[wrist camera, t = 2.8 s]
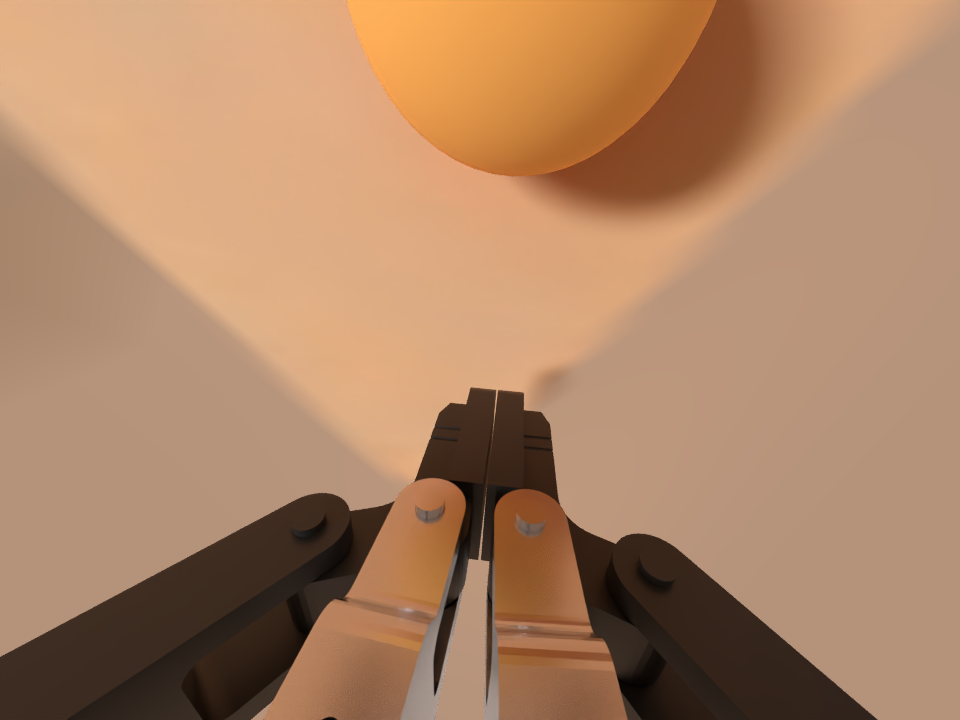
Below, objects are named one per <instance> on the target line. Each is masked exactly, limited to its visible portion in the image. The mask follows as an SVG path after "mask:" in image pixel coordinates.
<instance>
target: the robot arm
mask: <svg viewBox="0 0 960 720" xmlns="http://www.w3.org/2000/svg"><path fill="white" fill-rule="evenodd" d="M495 398H496V390H491V389H481V388H471V389H470V392H469V396H468V400H467V404H466V405H465V404H456V403H450V404H449V405H448V406H447V407H445V408H444V409H443V410H442V411H441V412H440V413H439V415H438V418H437V421H436V424H435V428H434V429H433V432H432V435H431V439H430V440H429V443H428V446H427V449H426V451H425V454H424V457H423V460H422V462H421V465H420V468H419V471H418V474H417V476H416V479H415V481H414V482H413V483H411V484H410V485H408V486H407V487H405V488H404V489H403V490H402V491H401V492H400V493H399V495H398V496H397V498H396V500H395V501H394V502H392V503H389V504H386V505H384V506H379V507H374V508H368V509H362V510H355V511H350V510H349V507H348V505H347V503H346V502H345V501H344V500H343V499H342V498H340V497H338V496H336V495H333V494H327V493H318V494H311V495H307V496H304V497H301V498H299V499H297V500H295V501H293V502H291V503H289V504H287V505H285V506H283V507H282V508H280V509H278V510H276V511H274V512H272V513H270V514H269V515H267V516H265V517H263V518H261V519H259V520H257V521H255V522H253V523H251V524H249V525H248V526H246V527H244V528H242V529H240V530H238V531H236V532H235V533H233V534H231V535H229V536H227V537H225V538H223V539H221V540H219V541H217V542H216V543H214V544H212V545H210V546H208V547H207V548H204V549H202V550H201V551H199V552H197V553H195V554H193V555H191V556H189V557H187V558H186V559H184V560H182V561H180V562H178V563H176V564H174V565H172V566H170V567H169V568H167V569H165V570H163V571H161V572H159V573H157V574H156V575H154V576H152V577H150V578H148V579H146V580H144V581H142V582H141V583H139V584H137V585H135V586H133V587H131V588H129V589H127V590H125V591H123V592H122V593H120V594H118V595H116V596H114V597H112V598H110V599H108V600H107V601H105V602H103V603H101V604H99V605H97V606H95V607H93V608H92V609H90V610H88V611H86V612H84V613H82V614H80V615H78V616H77V617H75V618H73V619H71V620H69V621H67V622H65V623H63V624H61V625H60V626H58V627H56V628H54V629H52V630H50V631H48V632H46V633H45V634H43V635H41V636H39V637H37V638H35V639H33V640H31V641H30V642H28V643H26V644H24V645H22V646H20V647H18V648H16V649H15V650H13V651H11V652H9V653H7V654H5V655H3V656H1V657H0V720H251V719H252V718H253V717H254V716H255V715H257V714H258V713H259V712H260V711H261V710H263V709H264V708H265V707H266V706H267V705H268V704H270V703H271V702H272V701H273V702H272V704H271V706H270V707H269V709H268V711H267V713H266V715H265V717H264V719H263V720H435V718H436V711H437V705H438V700H439V695H440V691H441V686H442V682H443V677H444V673H445V668H446V664H447V659H448V655H449V650H450V646H451V642H452V637H453V632H454V627H455V624H456V619H457V615H458V610H459V605H460V601H461V596H462V589H463V587H464V584H465V580H466V573H467V566H468V559H475V560H478V556H479V548H480V539H481V530H482V522H483V514H484V506H485V516H484V529H483V542H482V555H481V560H484V561H490V562H489V574H488V586H487V597H486V636H485V638H486V639H485V698H484V720H877V719H876V718H875V717H874V716H872V715H871V714H870V713H869V712H868V711H866V710H865V709H864V708H863V707H862V706H861V705H860V704H858V703H857V702H856V701H855V700H854V699H852V698H851V697H850V696H849V695H848V694H847V693H846V692H844V691H843V690H842V689H841V688H840V687H838V686H837V685H836V684H835V683H834V682H833V681H831V680H830V679H829V678H828V677H827V676H826V675H824V674H823V673H822V672H821V671H820V670H819V669H817V668H816V667H815V666H814V665H812V664H811V663H810V662H809V661H808V660H807V659H806V658H804V657H803V656H802V655H801V654H800V653H799V652H797V651H796V650H795V649H794V648H793V647H792V646H790V645H789V644H788V643H787V642H786V641H785V640H783V639H782V638H781V637H780V636H779V635H778V634H776V633H775V632H774V631H773V630H772V629H770V628H769V627H768V626H767V625H766V624H765V623H763V622H762V621H761V620H760V619H759V618H758V617H756V616H755V615H754V614H753V613H752V612H751V611H749V610H748V609H747V608H746V607H745V606H744V605H742V604H741V603H740V602H739V601H737V600H736V599H735V598H734V597H733V596H732V595H731V594H729V593H728V592H727V591H726V590H725V589H724V588H722V587H721V586H720V585H719V584H718V583H717V582H715V581H714V580H713V579H712V578H710V577H709V576H708V575H707V574H706V573H705V572H704V571H702V570H701V569H700V568H699V567H698V566H697V565H695V564H694V563H693V562H692V561H691V560H690V559H688V558H687V557H686V556H685V555H684V554H682V553H681V552H680V551H679V550H678V549H676V548H675V547H674V546H672V545H671V544H669V543H667V542H666V541H664V540H662V539H660V538H657V537H654V536H651V535H647V534H630V535H627V536H625V537H623V538H621V539H620V540H619V541H618V542H617V543H616V544H614V543H612V542H610V541H607V540H605V539H603V538H600V537H598V536H595V535H593V534H591V533H589V532H586V531H585V530H583V529H581V528H580V527H578V526H577V525H576V524H575V523H573V522H572V521H571V520H570V519H569V518H568V517H567V515H566V514H565V512H564V511H563V509H562V507H561V506H560V503H559V500H558V493H557V484H556V475H555V466H554V457H553V452H552V450H553V449H552V441H551V429H550V424H549V422H548V421H547V420H546V418H545V417H544V416H543V414H542V413H541V412H535V411H525V410H524V393H522V392H512V391H502V390H498V396H497V405H496V413H495V421H494V411H495ZM493 423H494V430H493ZM492 435H493V438H492ZM491 446H492V447H491ZM486 489H487V491H486ZM485 498H486V504H485Z"/></svg>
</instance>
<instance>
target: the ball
mask: <svg viewBox="0 0 960 720" xmlns="http://www.w3.org/2000/svg"><path fill="white" fill-rule="evenodd" d="M716 2H717V0H347V3H348V7H349V11H350V14H351V17H352V20H353V23H354V26H355V29H356V32H357V35H358V38H359V41H360V43H361V45H362V47H363V50H364V52H365V54H366V56H367V59H368V61H369V63H370V65H371V67H372V69H373V71H374V73H375V74H376V76H377V78H378V80H379V81H380V83H381V85H382V87H383V88H384V90H385V92H386V94H387V95H388V97H389V98H390V100H391V101H392V102H393V104H394V105H395V106H396V108H397V109H398V111H399V112H400V113H401V115H402V116H403V117H404V118H405V119H406V120H407V121H408V122H409V124H410V125H411V126H412V127H413V128H414V129H415V130H416V131H417V132H418V133H419V134H420V135H421V136H423V137H424V138H425V139H426V140H427V141H429V142H430V143H431V144H432V145H433V146H435V147H436V148H437V149H438V150H440V151H442V152H443V153H445V154H446V155H448V156H450V157H451V158H453V159H454V160H456V161H458V162H460V163H463V164H465V165H467V166H469V167H472V168H474V169H477V170H481V171H484V172H488V173H491V174H498V175H506V176H533V175H539V174H545V173H551V172H554V171H557V170H561V169H564V168H567V167H570V166H572V165H575V164H577V163H579V162H581V161H583V160H585V159H587V158H590V157H591V156H593V155H594V154H596V153H598V152H599V151H601V150H602V149H604V148H606V147H607V146H609V145H610V144H612V143H613V142H614V141H615V140H617V139H618V138H619V137H620V136H622V135H623V134H624V133H625V132H626V131H628V130H629V129H630V128H631V127H633V126H634V125H635V124H636V123H637V122H638V121H639V120H640V119H641V118H642V117H643V116H644V115H645V114H646V113H647V112H648V111H649V110H650V109H651V108H652V107H653V105H654V104H655V103H656V102H657V100H658V99H659V98H660V97H661V96H662V94H663V93H664V92H665V91H666V89H667V88H668V87H669V86H670V84H671V83H672V81H673V80H674V78H675V77H676V75H677V74H678V72H679V71H680V69H681V68H682V66H683V65H684V63H685V61H686V60H687V58H688V57H689V55H690V54H691V52H692V50H693V49H694V47H695V45H696V43H697V41H698V39H699V37H700V35H701V33H702V32H703V30H704V28H705V26H706V24H707V22H708V20H709V18H710V16H711V14H712V11H713V9H714V6H715V4H716Z"/></svg>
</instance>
